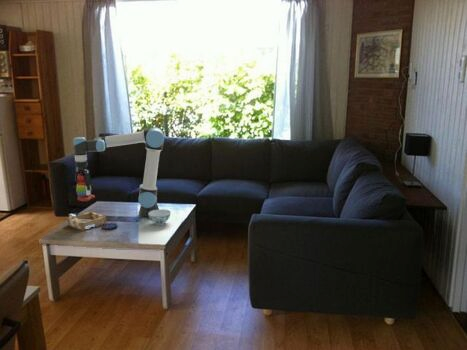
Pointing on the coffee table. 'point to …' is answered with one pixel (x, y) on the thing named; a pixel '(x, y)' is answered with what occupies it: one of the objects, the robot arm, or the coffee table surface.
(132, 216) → the coffee table surface
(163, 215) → the chinaware
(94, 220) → the crate
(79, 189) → the stacking bear
